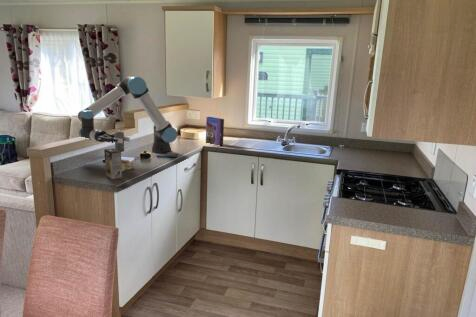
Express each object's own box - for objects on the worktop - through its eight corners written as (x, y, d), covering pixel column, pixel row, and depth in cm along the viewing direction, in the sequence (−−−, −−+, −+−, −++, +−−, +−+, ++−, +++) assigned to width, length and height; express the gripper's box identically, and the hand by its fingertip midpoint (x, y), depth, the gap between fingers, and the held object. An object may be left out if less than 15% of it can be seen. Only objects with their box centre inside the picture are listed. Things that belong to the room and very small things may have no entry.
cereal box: (205, 143, 314) (206, 116, 308) (209, 142, 317) (210, 116, 311) (219, 146, 302) (220, 119, 297) (223, 145, 306) (224, 118, 300)
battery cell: (119, 149, 222) (119, 129, 219) (126, 150, 220) (125, 130, 217) (113, 151, 217) (112, 130, 214) (119, 152, 215) (119, 131, 212)
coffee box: (105, 175, 205) (103, 149, 201) (115, 173, 210) (114, 147, 206) (111, 179, 199) (110, 152, 195) (122, 177, 204) (121, 150, 200)
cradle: (120, 165, 228) (120, 159, 227) (132, 167, 224) (132, 161, 223) (107, 169, 218) (107, 163, 217) (120, 171, 214) (120, 165, 213)
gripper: (110, 139, 233) (136, 143, 224) (87, 143, 217) (114, 148, 207) (109, 128, 232) (136, 132, 222) (86, 131, 215) (114, 136, 206)
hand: (125, 140), depth 215 cm, fingers closed on battery cell, 5 cm apart
